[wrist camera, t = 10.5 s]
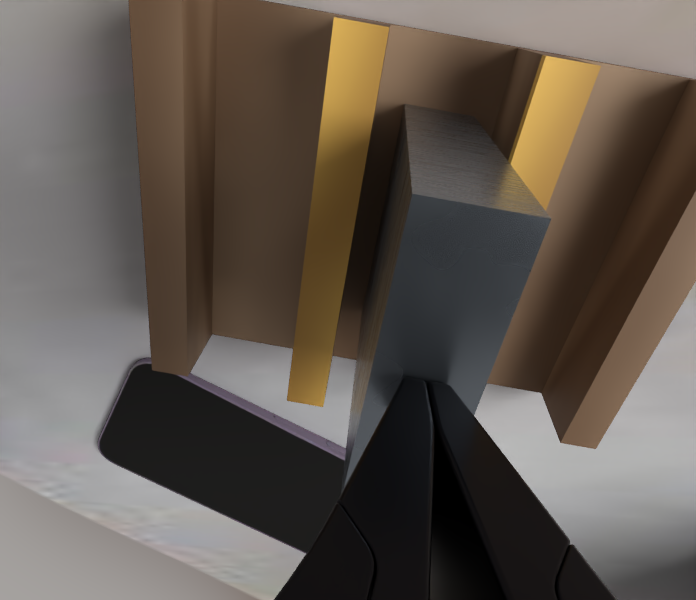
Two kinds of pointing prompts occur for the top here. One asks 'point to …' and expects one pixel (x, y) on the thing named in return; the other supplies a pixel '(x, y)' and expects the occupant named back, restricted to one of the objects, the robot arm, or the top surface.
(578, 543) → the top surface
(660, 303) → the rack
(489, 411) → the top surface
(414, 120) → the block
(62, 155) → the top surface
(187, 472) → the smartphone
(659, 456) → the top surface
